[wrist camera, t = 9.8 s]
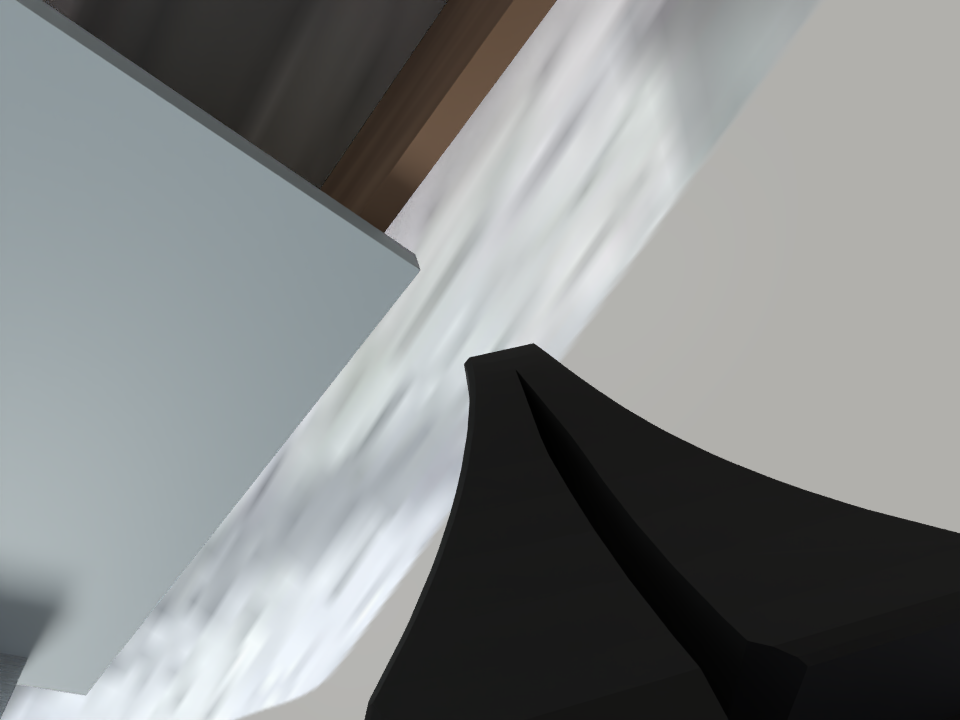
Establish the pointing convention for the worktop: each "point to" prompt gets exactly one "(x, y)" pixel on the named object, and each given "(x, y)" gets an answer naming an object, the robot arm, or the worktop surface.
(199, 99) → the worktop surface
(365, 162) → the storage box
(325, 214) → the lid
